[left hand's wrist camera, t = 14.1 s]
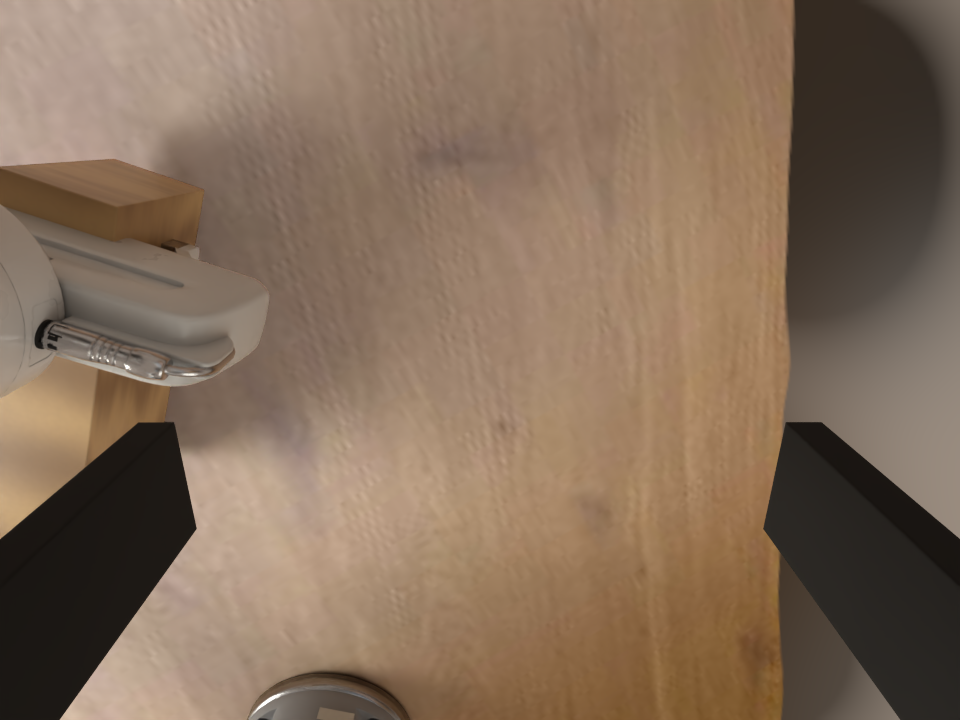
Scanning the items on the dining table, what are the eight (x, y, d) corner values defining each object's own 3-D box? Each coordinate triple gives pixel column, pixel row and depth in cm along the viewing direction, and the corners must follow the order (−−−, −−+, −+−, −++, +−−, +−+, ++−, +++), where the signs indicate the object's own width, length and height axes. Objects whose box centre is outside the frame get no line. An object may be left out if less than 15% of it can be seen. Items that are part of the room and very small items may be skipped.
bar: (155, 473, 43) (75, 558, 34) (79, 452, 42) (-23, 533, 34) (205, 189, 36) (118, 207, 27) (113, 158, 35) (-6, 165, 26)
